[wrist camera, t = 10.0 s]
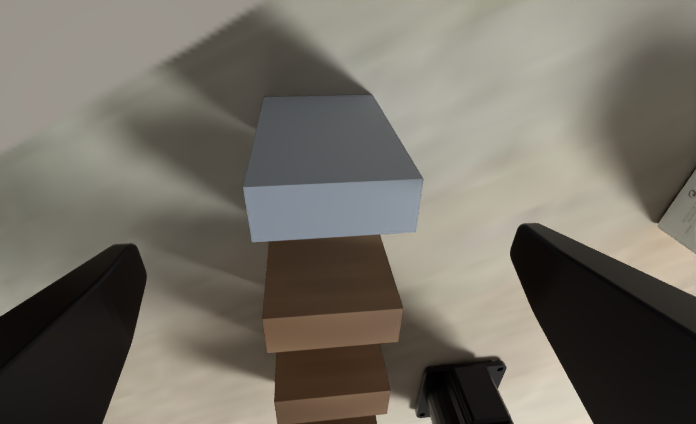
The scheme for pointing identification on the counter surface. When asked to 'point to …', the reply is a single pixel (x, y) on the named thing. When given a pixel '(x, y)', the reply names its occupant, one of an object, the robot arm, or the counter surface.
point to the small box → (682, 216)
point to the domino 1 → (328, 171)
